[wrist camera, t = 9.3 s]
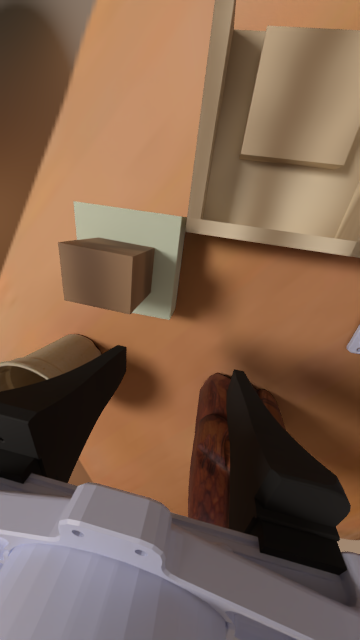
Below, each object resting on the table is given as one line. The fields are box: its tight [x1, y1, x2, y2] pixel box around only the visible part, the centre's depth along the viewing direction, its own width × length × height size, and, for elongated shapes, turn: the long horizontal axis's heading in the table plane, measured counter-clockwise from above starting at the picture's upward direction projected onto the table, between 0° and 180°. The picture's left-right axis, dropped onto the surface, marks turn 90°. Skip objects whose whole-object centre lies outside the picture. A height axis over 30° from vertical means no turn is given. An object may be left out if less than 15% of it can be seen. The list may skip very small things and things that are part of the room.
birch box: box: [185, 0, 360, 258], centre depth 14 cm, size 13×12×4 cm
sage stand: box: [74, 201, 187, 320], centre depth 20 cm, size 9×9×3 cm
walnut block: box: [58, 237, 155, 314], centre depth 16 cm, size 5×4×5 cm
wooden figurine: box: [188, 373, 285, 529], centre depth 18 cm, size 12×6×18 cm, turn 65°
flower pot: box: [0, 334, 101, 392], centre depth 24 cm, size 9×9×9 cm
